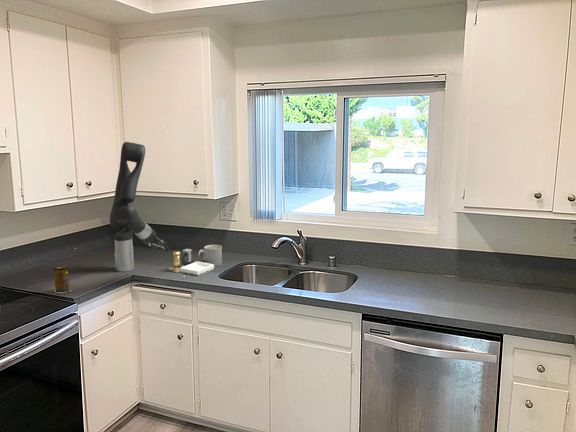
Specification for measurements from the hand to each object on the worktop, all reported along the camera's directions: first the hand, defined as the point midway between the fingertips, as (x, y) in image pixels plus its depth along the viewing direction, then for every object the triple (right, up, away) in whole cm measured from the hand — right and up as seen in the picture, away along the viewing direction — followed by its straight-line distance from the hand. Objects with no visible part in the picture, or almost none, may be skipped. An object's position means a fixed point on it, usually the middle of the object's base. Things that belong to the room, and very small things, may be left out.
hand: (162, 249), depth 243 cm
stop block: (+5, -12, +12) cm, 18 cm away
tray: (+16, -12, +11) cm, 23 cm away
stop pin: (+5, -12, +12) cm, 18 cm away
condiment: (-42, -19, -21) cm, 51 cm away
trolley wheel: (+9, -11, +19) cm, 24 cm away
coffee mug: (+21, -10, +24) cm, 34 cm away
